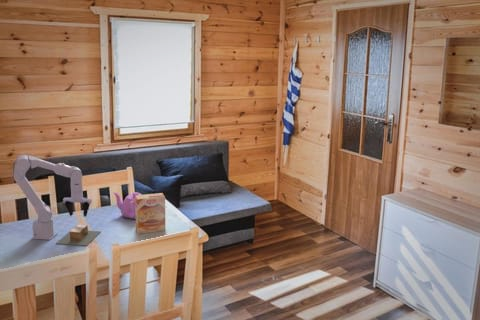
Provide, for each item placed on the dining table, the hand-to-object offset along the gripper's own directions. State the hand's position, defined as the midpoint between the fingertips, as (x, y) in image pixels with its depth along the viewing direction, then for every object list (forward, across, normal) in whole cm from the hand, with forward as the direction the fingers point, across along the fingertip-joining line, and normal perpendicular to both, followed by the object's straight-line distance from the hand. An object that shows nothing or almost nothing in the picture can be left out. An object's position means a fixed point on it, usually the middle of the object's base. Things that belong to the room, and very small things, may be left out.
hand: (78, 215), depth 246 cm
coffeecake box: (+10, +36, +9) cm, 38 cm away
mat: (+9, +3, -7) cm, 12 cm away
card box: (+9, +3, -7) cm, 12 cm away
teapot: (+10, +19, +29) cm, 36 cm away
